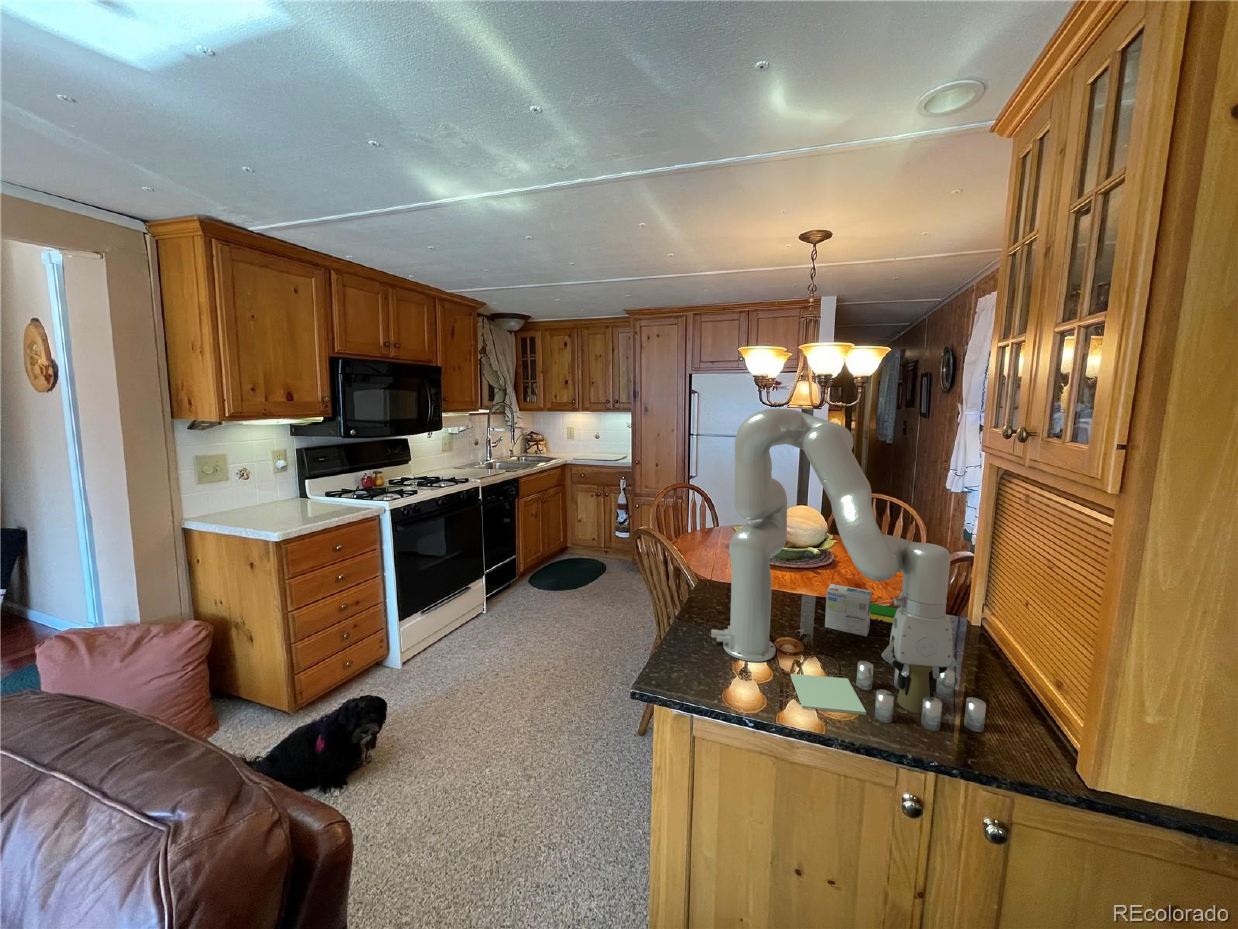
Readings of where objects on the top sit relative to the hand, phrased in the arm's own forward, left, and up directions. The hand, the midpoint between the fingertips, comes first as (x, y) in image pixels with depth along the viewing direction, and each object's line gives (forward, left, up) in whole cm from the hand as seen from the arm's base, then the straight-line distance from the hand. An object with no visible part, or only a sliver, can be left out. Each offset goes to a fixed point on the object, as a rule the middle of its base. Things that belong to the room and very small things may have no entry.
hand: (915, 691), depth 98 cm
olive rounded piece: (0, 0, -3) cm, 3 cm away
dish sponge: (+11, +44, -4) cm, 46 cm away
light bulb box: (-3, +35, -3) cm, 35 cm away
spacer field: (0, 0, -3) cm, 3 cm away
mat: (-17, +1, -3) cm, 17 cm away
